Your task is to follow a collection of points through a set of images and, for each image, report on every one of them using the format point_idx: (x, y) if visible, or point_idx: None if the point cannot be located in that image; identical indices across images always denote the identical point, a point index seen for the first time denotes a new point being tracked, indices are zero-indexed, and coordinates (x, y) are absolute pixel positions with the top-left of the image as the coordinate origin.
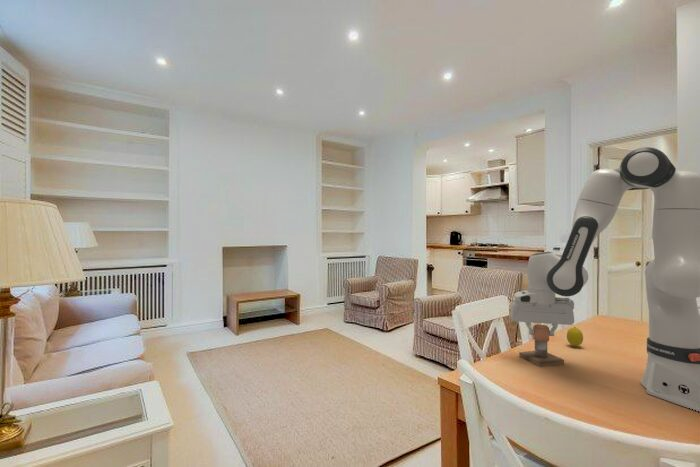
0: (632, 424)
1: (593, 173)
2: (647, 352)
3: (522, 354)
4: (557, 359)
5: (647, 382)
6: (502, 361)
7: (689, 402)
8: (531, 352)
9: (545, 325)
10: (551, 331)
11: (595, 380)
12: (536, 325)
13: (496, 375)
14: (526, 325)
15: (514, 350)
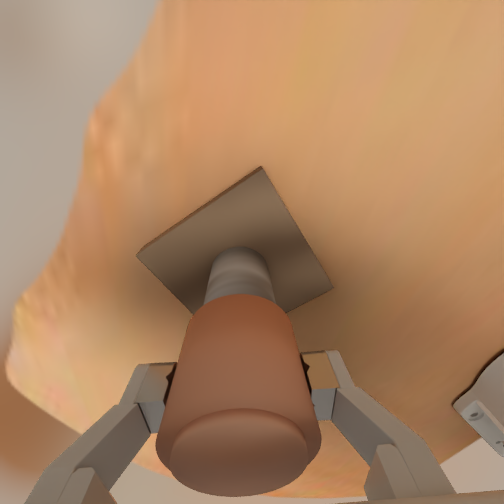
0: (330, 489)
1: None
2: None
3: (153, 271)
4: (304, 293)
5: (489, 411)
6: (83, 324)
7: (500, 436)
8: (198, 237)
9: (297, 439)
10: (326, 418)
11: (367, 373)
12: (187, 465)
13: (92, 420)
14: (76, 447)
15: (109, 151)
